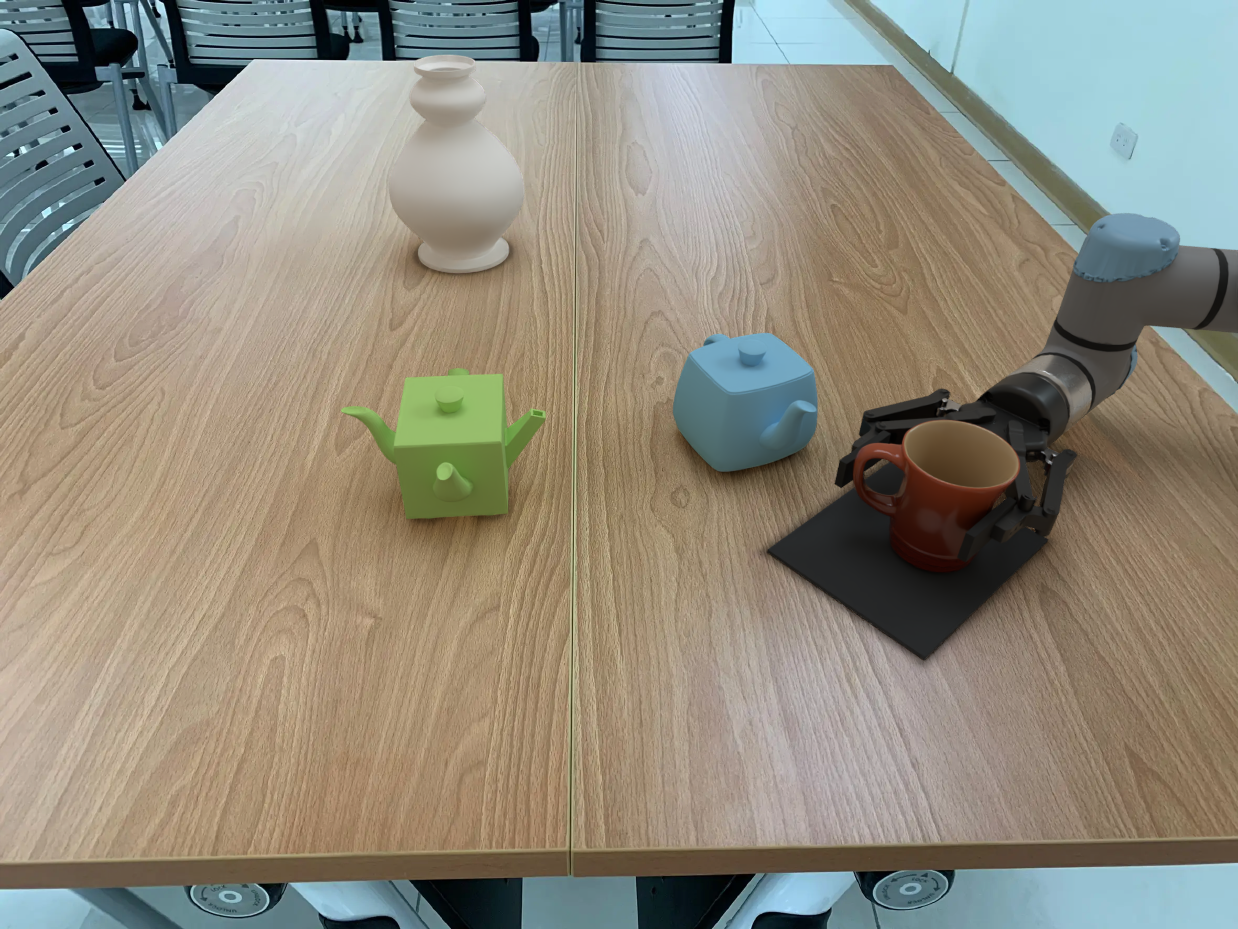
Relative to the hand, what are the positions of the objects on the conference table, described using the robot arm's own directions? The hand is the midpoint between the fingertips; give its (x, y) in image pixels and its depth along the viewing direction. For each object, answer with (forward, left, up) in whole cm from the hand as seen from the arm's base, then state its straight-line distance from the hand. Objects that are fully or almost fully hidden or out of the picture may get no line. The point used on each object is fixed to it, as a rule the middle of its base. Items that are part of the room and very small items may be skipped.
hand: (899, 509), depth 73 cm
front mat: (0, -4, -7) cm, 8 cm away
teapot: (+19, -4, -7) cm, 21 cm away
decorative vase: (+75, -8, -7) cm, 76 cm away
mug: (0, -4, -7) cm, 8 cm away
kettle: (+33, +22, -7) cm, 40 cm away
